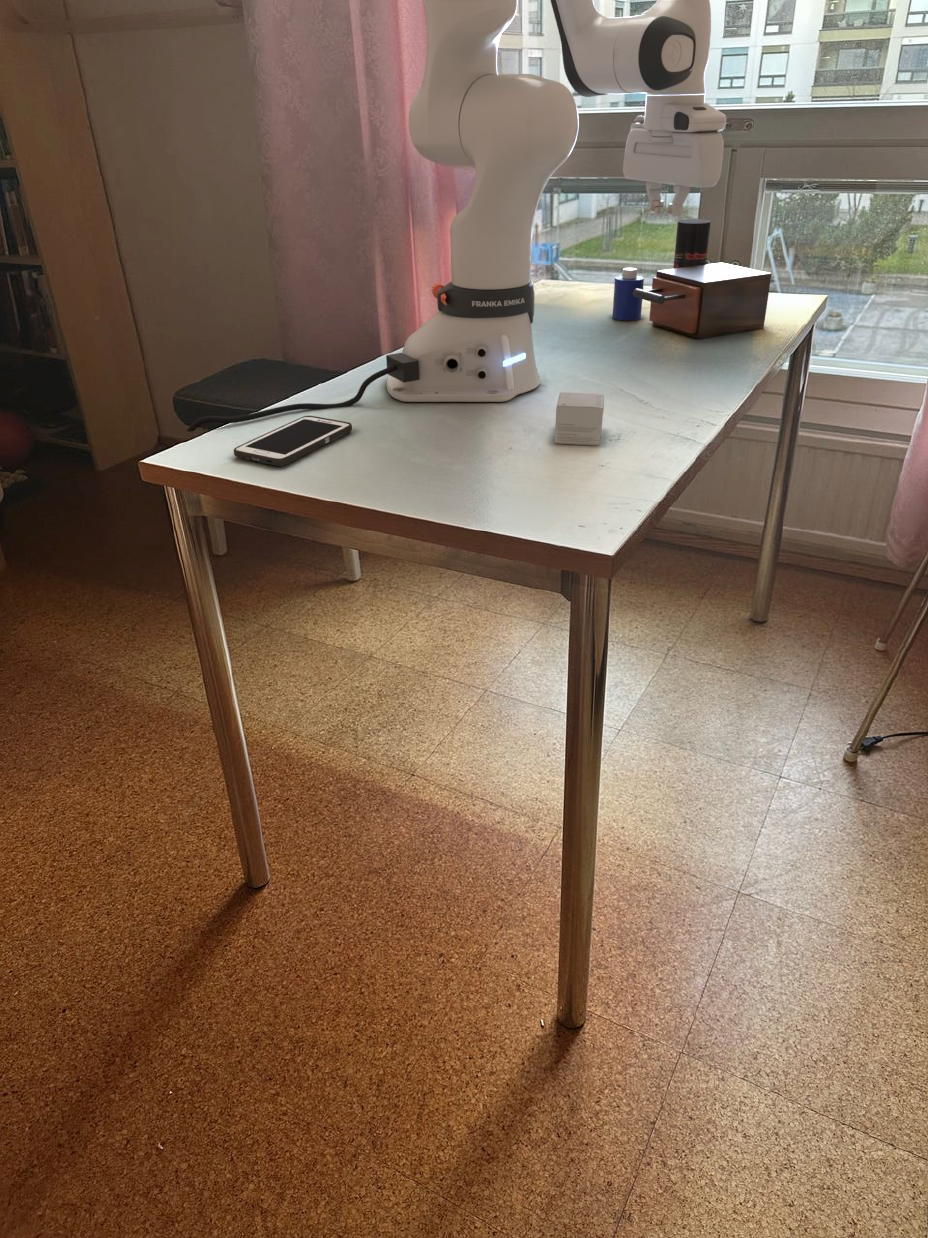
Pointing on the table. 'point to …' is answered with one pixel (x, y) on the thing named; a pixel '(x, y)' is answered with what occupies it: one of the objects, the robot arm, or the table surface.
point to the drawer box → (724, 297)
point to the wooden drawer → (673, 303)
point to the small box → (579, 418)
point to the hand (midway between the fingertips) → (665, 214)
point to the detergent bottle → (627, 295)
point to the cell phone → (292, 440)
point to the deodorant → (691, 242)
